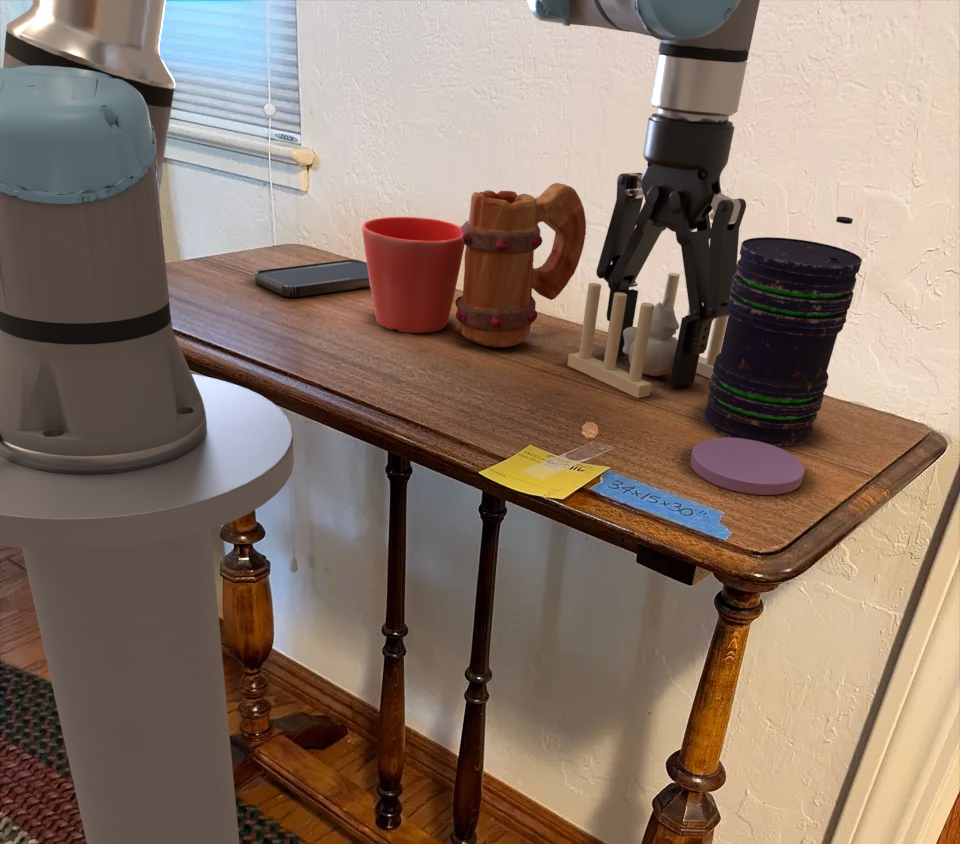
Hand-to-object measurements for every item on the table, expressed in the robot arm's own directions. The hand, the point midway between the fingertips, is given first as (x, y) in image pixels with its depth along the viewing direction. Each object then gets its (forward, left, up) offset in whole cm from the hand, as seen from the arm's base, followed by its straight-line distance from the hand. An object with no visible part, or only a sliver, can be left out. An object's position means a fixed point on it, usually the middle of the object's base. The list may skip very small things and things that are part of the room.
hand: (647, 369), depth 96 cm
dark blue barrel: (-1, -15, 0) cm, 15 cm away
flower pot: (-13, +23, 0) cm, 27 cm away
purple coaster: (-10, -21, 0) cm, 23 cm away
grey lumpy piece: (0, 0, 0) cm, 0 cm away
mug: (-6, +14, 0) cm, 15 cm away
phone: (-14, +40, 0) cm, 42 cm away
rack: (0, 0, 0) cm, 0 cm away
